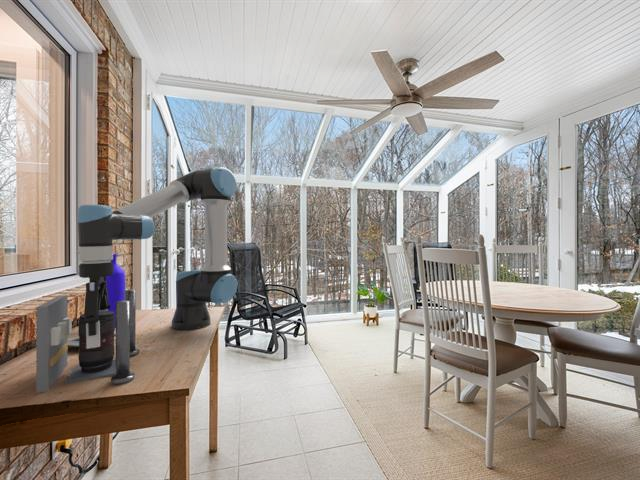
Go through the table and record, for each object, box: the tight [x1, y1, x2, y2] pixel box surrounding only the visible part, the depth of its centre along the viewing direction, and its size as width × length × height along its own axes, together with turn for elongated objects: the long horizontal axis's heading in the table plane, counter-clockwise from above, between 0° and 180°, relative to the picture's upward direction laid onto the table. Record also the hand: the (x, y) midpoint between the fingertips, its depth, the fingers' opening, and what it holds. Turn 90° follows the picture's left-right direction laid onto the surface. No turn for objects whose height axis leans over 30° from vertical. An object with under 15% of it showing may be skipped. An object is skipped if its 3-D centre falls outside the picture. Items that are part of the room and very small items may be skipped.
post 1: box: [110, 300, 135, 386], centre depth 77 cm, size 5×5×20 cm
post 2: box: [124, 289, 140, 358], centre depth 94 cm, size 5×5×20 cm
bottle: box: [106, 253, 126, 328], centre depth 127 cm, size 8×8×30 cm
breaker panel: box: [35, 294, 73, 394], centre depth 78 cm, size 3×17×20 cm, turn 28°
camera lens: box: [77, 311, 116, 373], centre depth 83 cm, size 8×8×15 cm
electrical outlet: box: [67, 332, 116, 349], centre depth 103 cm, size 13×10×2 cm
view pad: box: [64, 359, 116, 385], centre depth 82 cm, size 11×11×1 cm
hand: (98, 339), depth 83 cm, fingers open, 13 cm apart
